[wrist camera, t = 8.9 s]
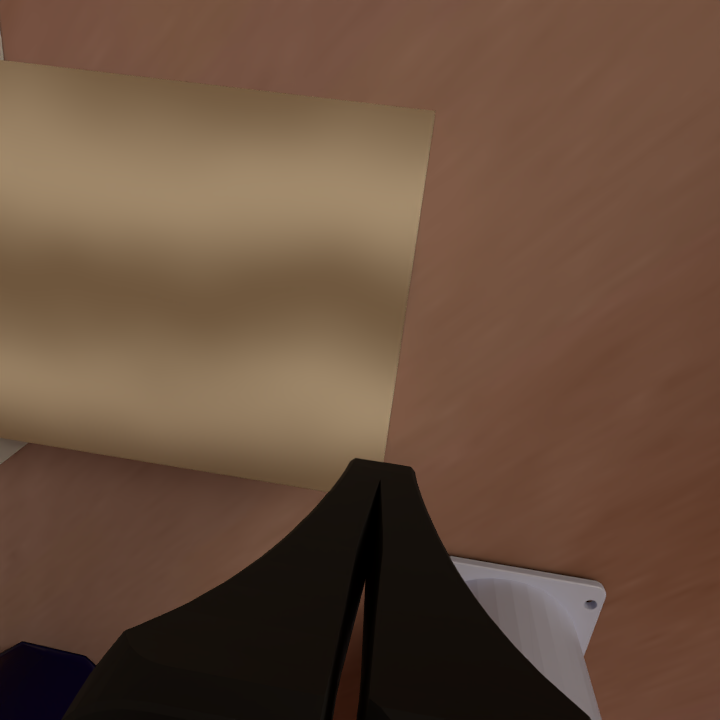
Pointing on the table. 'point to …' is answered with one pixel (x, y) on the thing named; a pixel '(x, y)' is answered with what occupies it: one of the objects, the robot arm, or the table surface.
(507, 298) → the table surface
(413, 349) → the table surface
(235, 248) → the board
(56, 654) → the bottle
